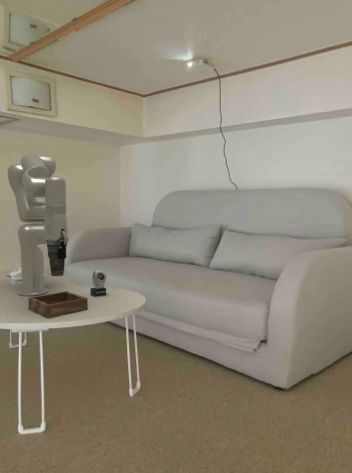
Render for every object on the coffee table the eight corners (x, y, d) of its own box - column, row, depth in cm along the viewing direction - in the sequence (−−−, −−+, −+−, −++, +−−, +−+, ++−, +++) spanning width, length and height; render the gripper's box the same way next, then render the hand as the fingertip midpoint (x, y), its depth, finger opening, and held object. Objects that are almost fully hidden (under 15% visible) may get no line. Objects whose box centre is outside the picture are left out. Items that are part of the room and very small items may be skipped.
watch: (96, 297, 161) (96, 272, 160) (88, 294, 168) (88, 270, 167) (108, 296, 165) (108, 271, 164) (100, 292, 171) (100, 268, 170)
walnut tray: (28, 309, 143) (28, 297, 143) (66, 301, 154) (66, 291, 154) (48, 318, 132) (47, 306, 131) (87, 309, 143) (87, 298, 143)
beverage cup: (57, 277, 137) (55, 223, 135) (43, 275, 140) (41, 222, 139) (71, 274, 143) (70, 222, 141) (57, 272, 147) (56, 222, 145)
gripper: (35, 210, 143) (37, 256, 145) (57, 211, 131) (59, 261, 132) (54, 210, 148) (55, 254, 150) (76, 210, 136) (77, 259, 138)
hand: (57, 257), depth 141 cm, fingers closed on beverage cup, 7 cm apart
